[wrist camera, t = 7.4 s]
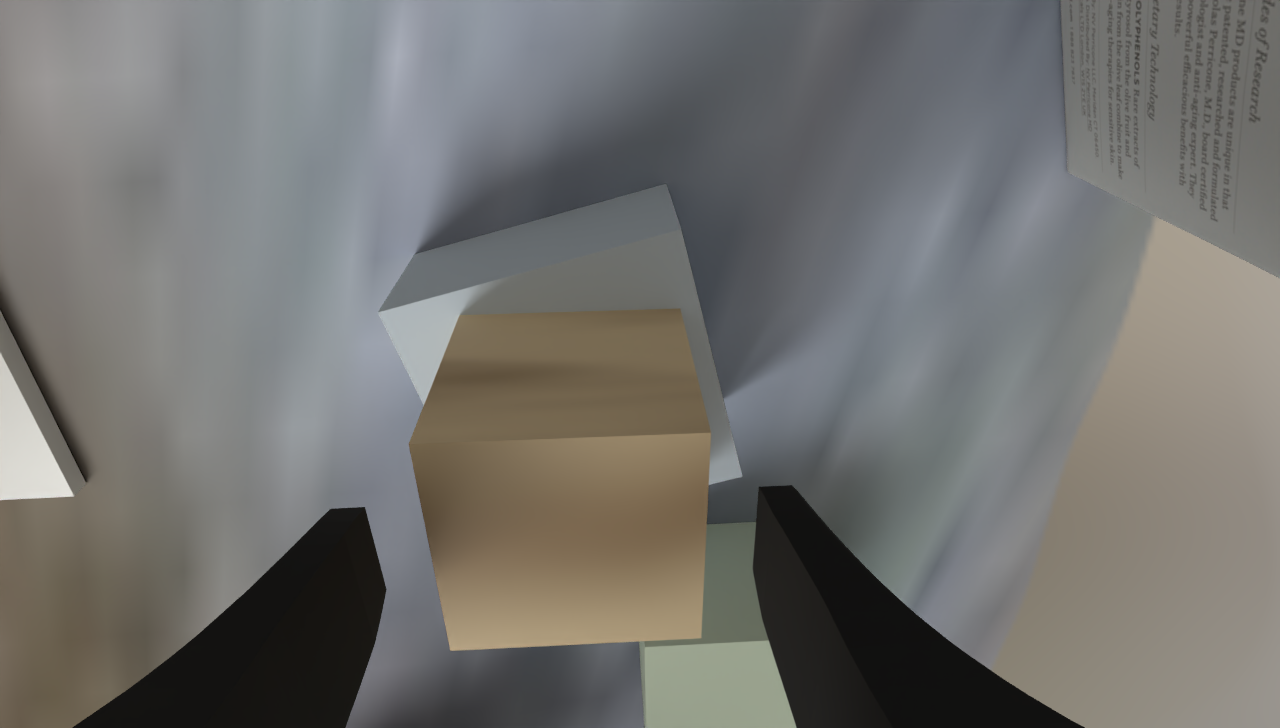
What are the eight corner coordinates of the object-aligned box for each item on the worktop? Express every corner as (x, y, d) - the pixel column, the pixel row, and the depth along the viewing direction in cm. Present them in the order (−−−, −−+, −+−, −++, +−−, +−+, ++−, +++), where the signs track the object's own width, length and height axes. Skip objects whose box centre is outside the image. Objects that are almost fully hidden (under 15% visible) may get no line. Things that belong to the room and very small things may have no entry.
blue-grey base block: (719, 397, 22) (742, 476, 19) (506, 450, 23) (489, 538, 19) (665, 181, 19) (681, 229, 15) (416, 250, 19) (377, 312, 16)
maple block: (676, 482, 19) (701, 638, 14) (484, 490, 19) (450, 650, 14) (680, 308, 16) (711, 432, 12) (459, 315, 16) (408, 444, 12)
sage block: (770, 621, 27) (803, 746, 23) (637, 628, 27) (646, 756, 22) (780, 519, 25) (820, 637, 20) (636, 525, 24) (644, 646, 20)
